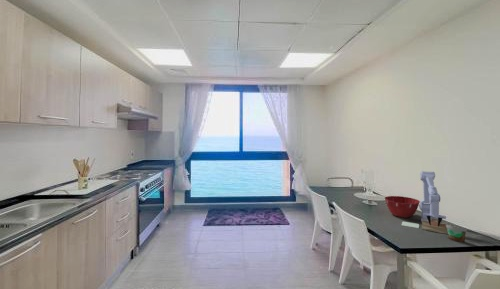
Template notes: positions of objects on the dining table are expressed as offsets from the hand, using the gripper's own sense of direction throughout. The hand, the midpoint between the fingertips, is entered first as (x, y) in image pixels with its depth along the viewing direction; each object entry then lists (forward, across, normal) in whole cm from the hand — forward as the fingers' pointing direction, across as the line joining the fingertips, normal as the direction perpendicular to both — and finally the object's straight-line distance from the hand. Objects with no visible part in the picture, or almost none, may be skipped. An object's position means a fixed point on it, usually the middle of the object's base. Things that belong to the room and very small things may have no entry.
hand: (434, 226), depth 198 cm
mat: (+2, -16, 0) cm, 16 cm away
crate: (+2, +1, 0) cm, 2 cm away
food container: (+2, +11, -19) cm, 22 cm away
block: (+1, 0, 0) cm, 1 cm away
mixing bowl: (+2, -24, +27) cm, 36 cm away
